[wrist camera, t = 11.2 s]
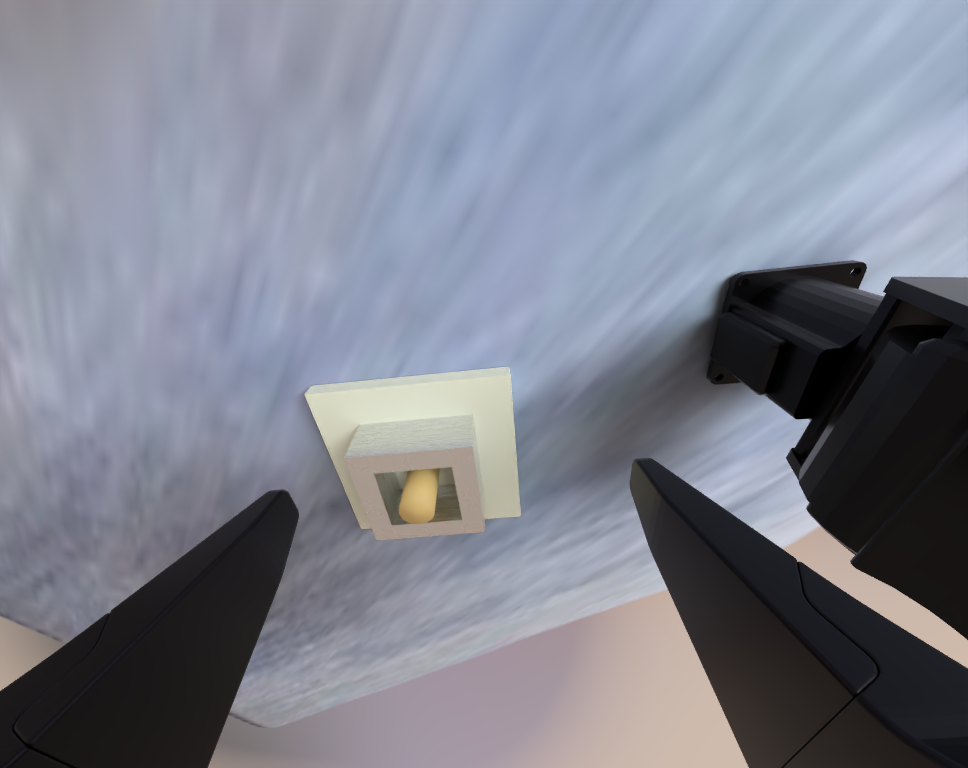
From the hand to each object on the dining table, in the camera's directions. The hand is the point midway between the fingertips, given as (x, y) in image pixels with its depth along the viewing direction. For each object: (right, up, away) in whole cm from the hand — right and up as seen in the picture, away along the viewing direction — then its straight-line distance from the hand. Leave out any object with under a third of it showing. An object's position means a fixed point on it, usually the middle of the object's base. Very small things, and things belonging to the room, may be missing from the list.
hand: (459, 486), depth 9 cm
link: (-3, -3, +14) cm, 15 cm away
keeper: (-3, -2, +15) cm, 16 cm away
